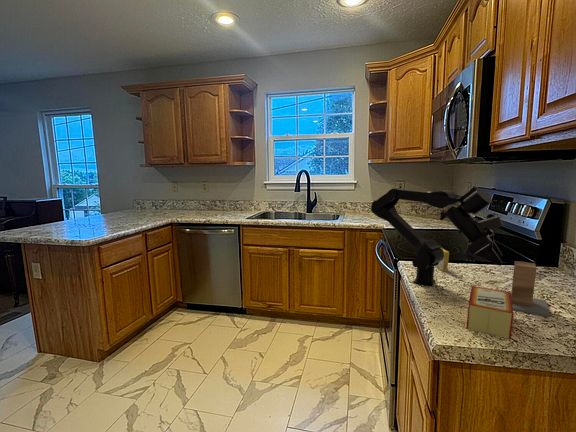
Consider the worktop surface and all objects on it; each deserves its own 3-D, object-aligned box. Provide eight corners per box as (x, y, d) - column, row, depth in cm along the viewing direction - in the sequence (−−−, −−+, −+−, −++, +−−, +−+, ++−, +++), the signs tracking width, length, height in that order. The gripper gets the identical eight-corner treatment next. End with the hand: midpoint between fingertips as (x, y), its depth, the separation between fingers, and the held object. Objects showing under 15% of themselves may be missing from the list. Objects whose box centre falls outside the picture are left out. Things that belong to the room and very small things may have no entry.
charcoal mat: (550, 317, 88) (550, 315, 88) (490, 305, 96) (490, 303, 96) (545, 302, 98) (545, 300, 98) (492, 292, 106) (492, 290, 106)
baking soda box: (469, 306, 95) (466, 329, 82) (471, 285, 94) (468, 305, 81) (508, 314, 90) (510, 339, 77) (510, 292, 89) (513, 314, 76)
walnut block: (531, 307, 93) (536, 267, 91) (510, 303, 96) (515, 264, 94) (530, 301, 97) (535, 263, 95) (510, 297, 100) (514, 260, 98)
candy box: (448, 272, 126) (449, 252, 125) (442, 272, 126) (444, 252, 125) (430, 260, 142) (432, 242, 141) (426, 260, 142) (427, 242, 141)
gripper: (485, 209, 91) (528, 252, 86) (488, 203, 106) (525, 239, 102) (452, 233, 96) (491, 274, 92) (459, 223, 112) (493, 259, 107)
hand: (501, 260), depth 98 cm, fingers open, 9 cm apart
